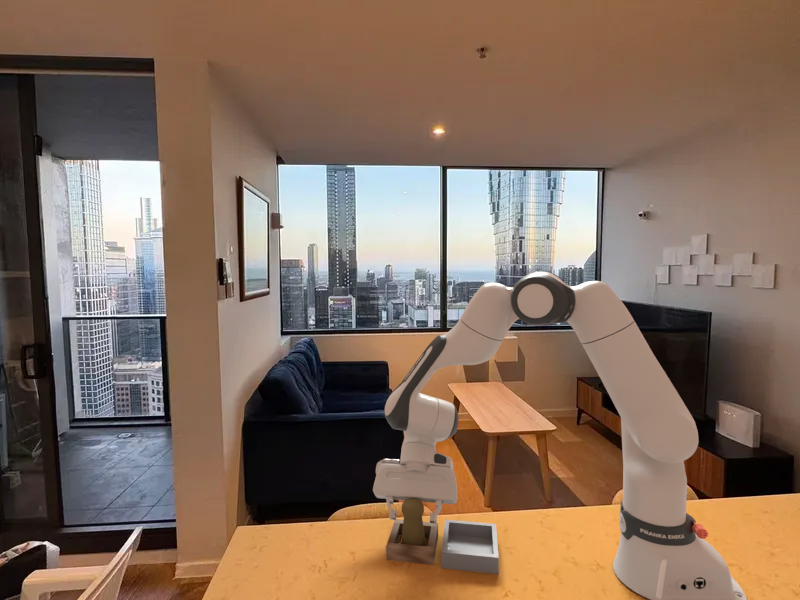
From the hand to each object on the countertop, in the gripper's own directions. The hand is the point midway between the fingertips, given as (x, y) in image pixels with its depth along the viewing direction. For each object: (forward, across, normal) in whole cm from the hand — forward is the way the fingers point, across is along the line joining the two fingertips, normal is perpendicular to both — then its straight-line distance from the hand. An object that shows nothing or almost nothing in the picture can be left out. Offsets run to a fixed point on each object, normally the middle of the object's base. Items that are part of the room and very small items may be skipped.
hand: (412, 520), depth 96 cm
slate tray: (+4, +13, +5) cm, 15 cm away
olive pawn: (+4, 0, +5) cm, 7 cm away
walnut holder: (+4, 0, +5) cm, 7 cm away
